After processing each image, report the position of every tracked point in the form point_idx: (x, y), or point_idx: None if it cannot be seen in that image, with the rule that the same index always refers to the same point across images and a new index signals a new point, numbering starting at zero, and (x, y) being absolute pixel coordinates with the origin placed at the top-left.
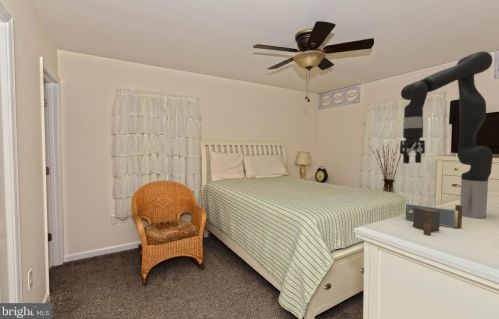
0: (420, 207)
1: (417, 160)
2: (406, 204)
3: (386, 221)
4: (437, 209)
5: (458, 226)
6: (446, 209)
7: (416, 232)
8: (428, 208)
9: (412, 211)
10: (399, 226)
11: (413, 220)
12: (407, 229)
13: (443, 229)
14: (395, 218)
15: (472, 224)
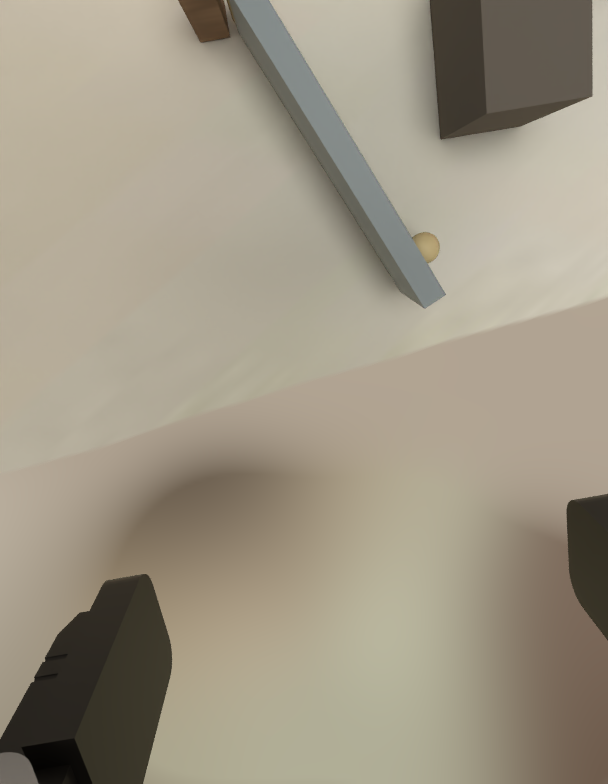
0: (524, 85)
1: (147, 656)
2: (443, 292)
3: (568, 292)
4: (317, 86)
5: (223, 3)
6: (269, 30)
7: (600, 28)
8: (488, 31)
9: (425, 235)
10: (587, 172)
11: (540, 116)
12: (597, 101)
13: (349, 29)
14: (442, 336)
15: (11, 66)
